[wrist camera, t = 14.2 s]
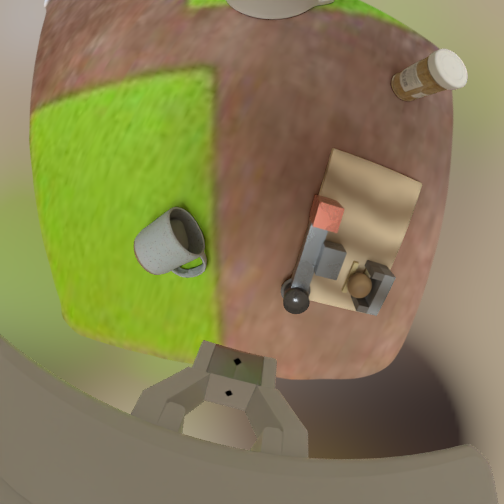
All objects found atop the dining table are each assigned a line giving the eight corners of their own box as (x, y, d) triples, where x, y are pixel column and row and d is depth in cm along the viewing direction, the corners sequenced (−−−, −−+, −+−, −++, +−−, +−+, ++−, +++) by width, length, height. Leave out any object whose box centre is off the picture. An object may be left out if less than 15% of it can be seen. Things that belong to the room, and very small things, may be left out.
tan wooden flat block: (323, 145, 33) (330, 145, 28) (417, 182, 33) (436, 188, 28) (277, 294, 42) (276, 314, 37) (363, 314, 42) (371, 334, 37)
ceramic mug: (144, 228, 41) (120, 246, 33) (182, 200, 38) (161, 214, 31) (182, 281, 43) (165, 306, 36) (222, 258, 41) (210, 283, 34)
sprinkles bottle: (413, 107, 29) (466, 96, 17) (386, 92, 29) (432, 71, 17) (419, 82, 27) (471, 64, 15) (393, 67, 27) (438, 39, 15)
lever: (312, 193, 34) (317, 201, 29) (353, 205, 34) (364, 215, 29) (280, 299, 40) (280, 319, 36) (317, 307, 40) (320, 327, 35)
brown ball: (350, 265, 37) (356, 277, 34) (371, 271, 37) (378, 283, 34) (341, 287, 38) (346, 299, 35) (362, 292, 38) (368, 305, 35)
